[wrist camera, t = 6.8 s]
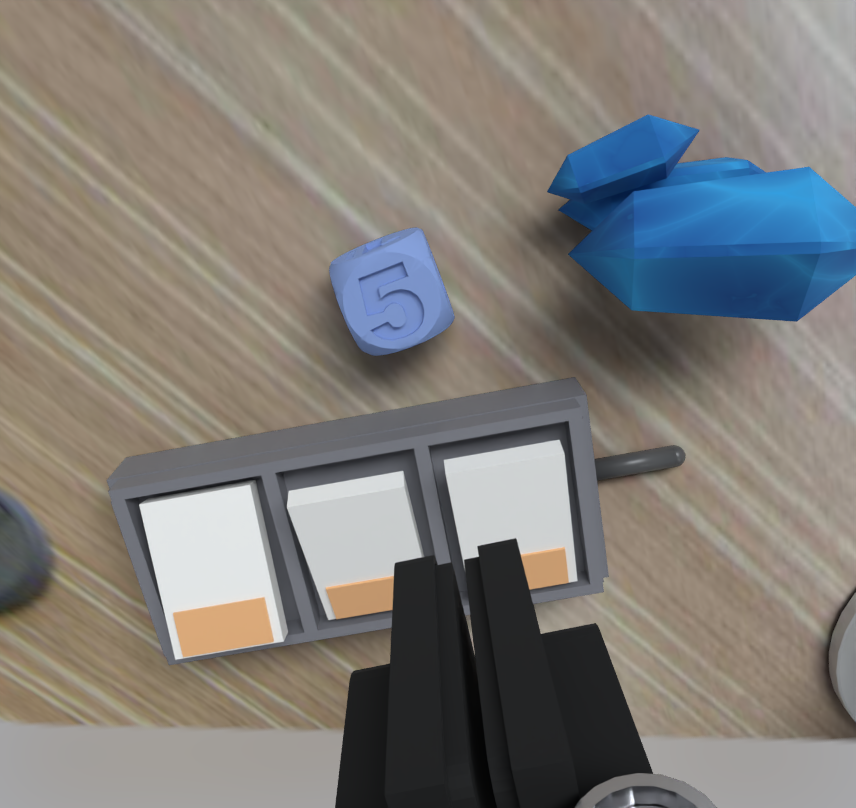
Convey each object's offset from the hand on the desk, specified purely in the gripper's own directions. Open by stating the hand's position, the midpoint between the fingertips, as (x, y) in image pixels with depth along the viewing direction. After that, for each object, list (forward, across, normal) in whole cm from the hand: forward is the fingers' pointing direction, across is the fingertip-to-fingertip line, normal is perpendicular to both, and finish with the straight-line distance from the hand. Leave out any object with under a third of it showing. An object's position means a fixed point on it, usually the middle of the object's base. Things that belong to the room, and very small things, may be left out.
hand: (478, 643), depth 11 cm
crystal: (+26, -11, -1) cm, 28 cm away
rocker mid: (+22, +5, +10) cm, 24 cm away
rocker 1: (+22, +12, +9) cm, 26 cm away
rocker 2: (+22, -1, +10) cm, 24 cm away
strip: (+25, +3, +10) cm, 27 cm away
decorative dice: (+26, +2, -1) cm, 26 cm away
